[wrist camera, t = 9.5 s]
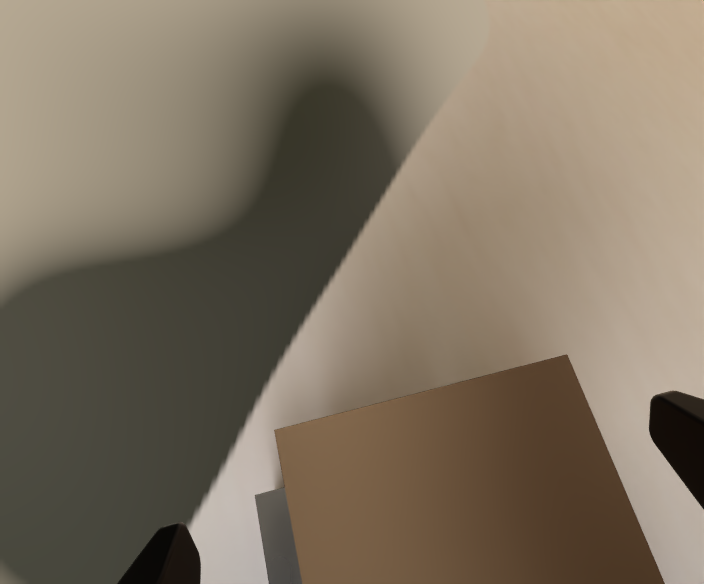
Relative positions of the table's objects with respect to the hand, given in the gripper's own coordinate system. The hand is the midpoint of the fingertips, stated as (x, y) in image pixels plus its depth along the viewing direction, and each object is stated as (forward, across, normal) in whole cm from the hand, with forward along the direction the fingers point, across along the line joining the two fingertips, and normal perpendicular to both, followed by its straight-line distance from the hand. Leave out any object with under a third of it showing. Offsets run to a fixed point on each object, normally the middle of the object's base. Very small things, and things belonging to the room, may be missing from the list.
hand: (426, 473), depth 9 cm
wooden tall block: (+4, 0, +6) cm, 8 cm away
